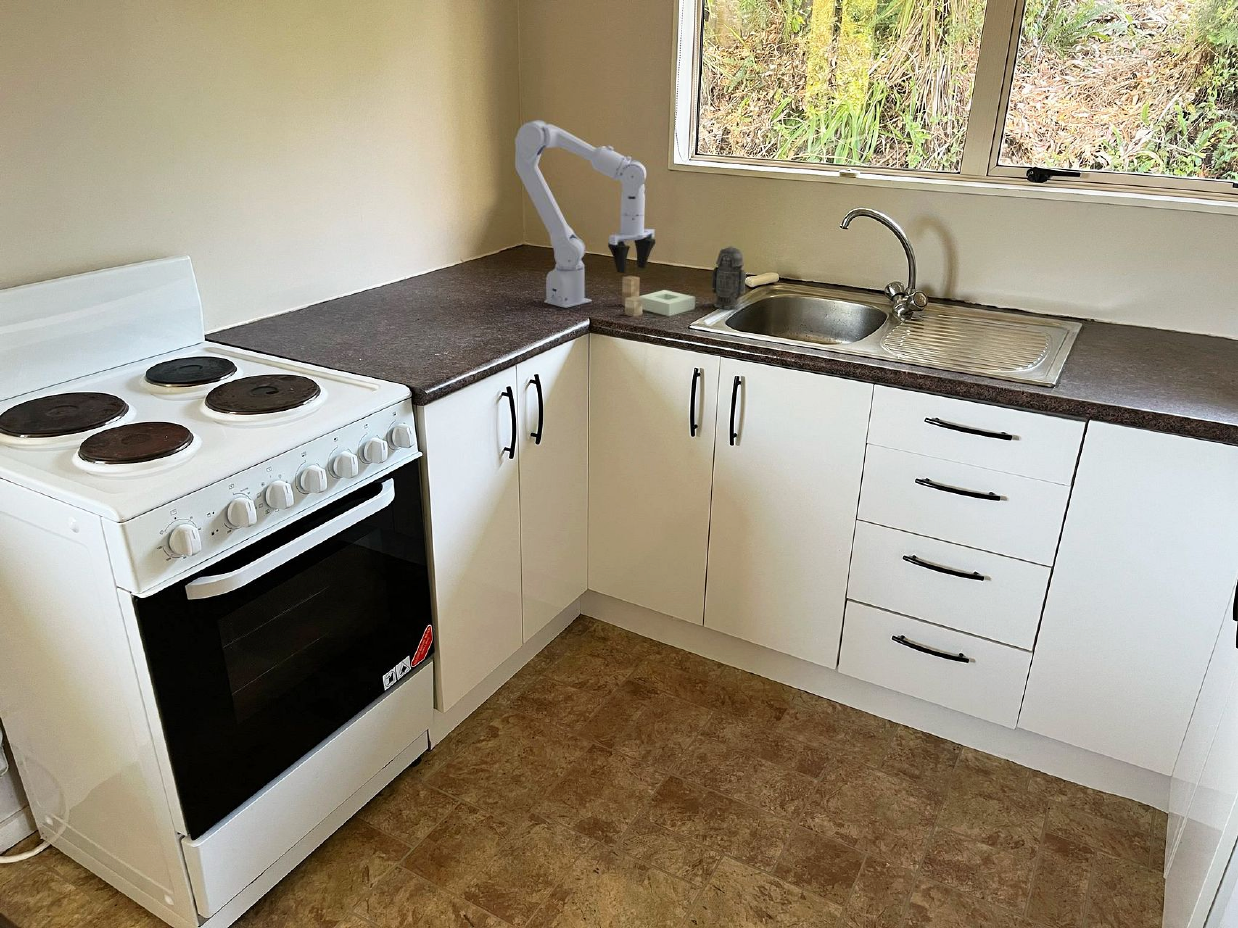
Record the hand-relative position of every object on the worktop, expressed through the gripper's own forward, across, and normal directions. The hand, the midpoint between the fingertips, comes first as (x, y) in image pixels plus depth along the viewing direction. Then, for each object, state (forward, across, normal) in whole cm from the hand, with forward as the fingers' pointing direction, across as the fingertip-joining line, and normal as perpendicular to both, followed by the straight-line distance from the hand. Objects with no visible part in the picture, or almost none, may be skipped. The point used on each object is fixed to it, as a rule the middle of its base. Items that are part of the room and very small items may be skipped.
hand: (631, 270), depth 229 cm
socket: (+9, +4, -8) cm, 13 cm away
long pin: (+9, 0, 0) cm, 9 cm away
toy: (+9, +17, -17) cm, 26 cm away
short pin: (+9, -6, -6) cm, 12 cm away
